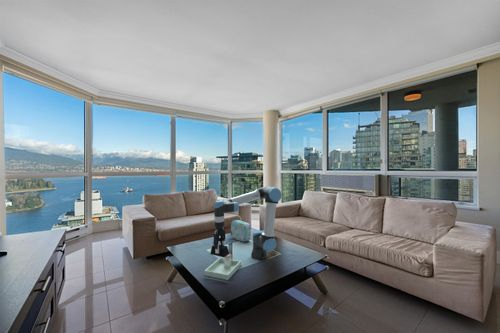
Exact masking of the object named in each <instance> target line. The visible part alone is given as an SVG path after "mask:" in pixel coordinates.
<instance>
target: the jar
mask: <svg viewBox="0 0 500 333" xmlns="http://www.w3.org/2000/svg"><path fill="white" fill-rule="evenodd" d="M232 257H233V256H232V254H231V253H229V254H228V255H227V256H225V257H223V258H224V267H226V268H229V267H231V259H232Z"/></svg>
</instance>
